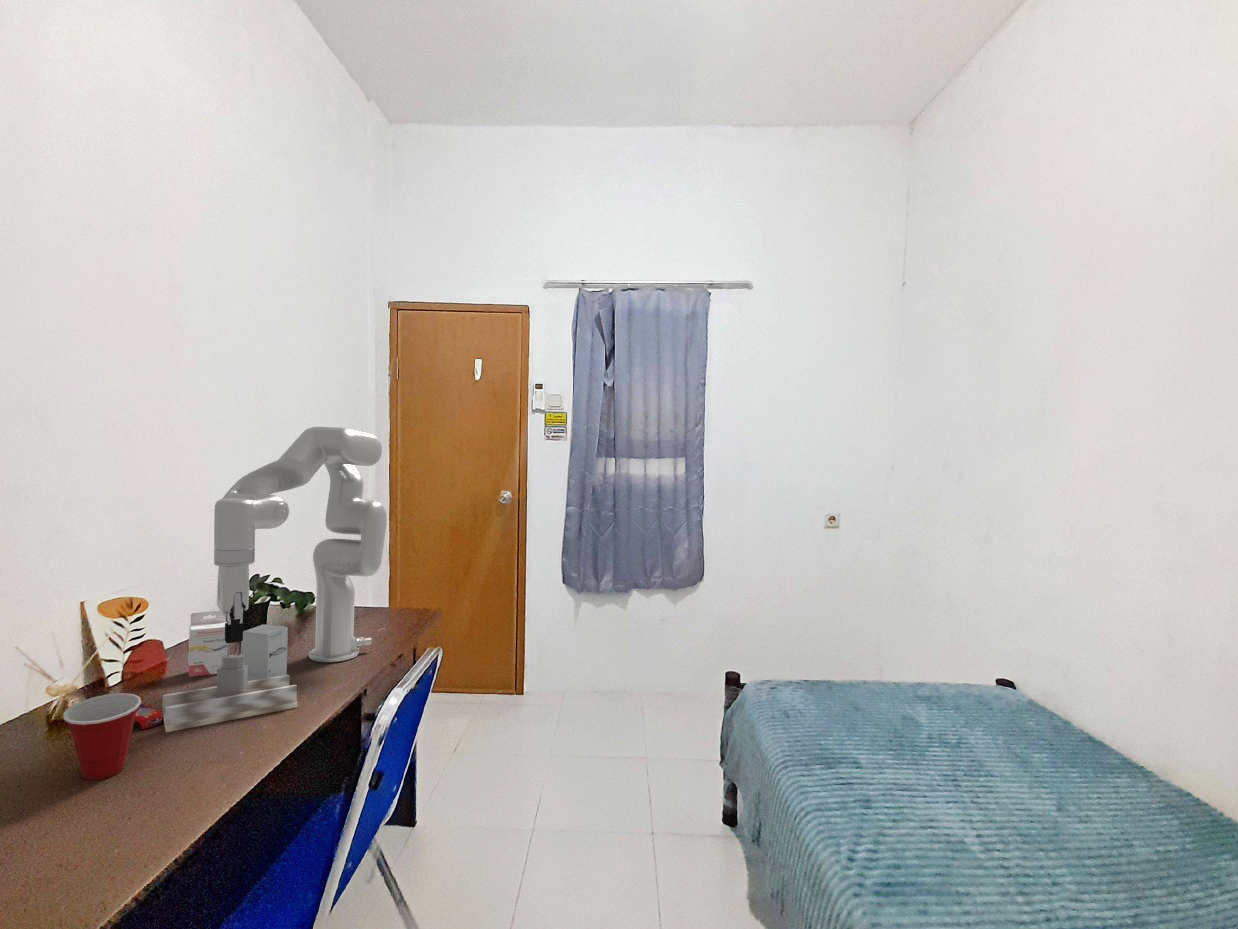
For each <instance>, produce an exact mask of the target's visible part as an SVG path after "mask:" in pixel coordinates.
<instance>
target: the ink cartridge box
mask: <svg viewBox="0 0 1238 929" xmlns="http://www.w3.org/2000/svg"><path fill="white" fill-rule="evenodd" d="M208 616H215V617H210V618H204V617H208ZM225 623H226V613H225V614H223V613H222V612H221V611H220V610H210V611H209V610H208V611H201V612H199V611H198V612H191V614H190V625H189V632H188V634H189V635H188V638H189V639H188V660H187V661H188V664H187V665H188V666H187V667H188V668H187V671H188V678H191V677H193V678H194V677H200V676H201V677H202V676H210V675H217V669H218V668H219V667H221V666H222V656H225V655H228V645H229V646H230V645H231V643H226V642H225Z"/></svg>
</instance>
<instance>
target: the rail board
mask: <svg viewBox="0 0 1238 929" xmlns="http://www.w3.org/2000/svg"><path fill="white" fill-rule="evenodd" d="M297 695H298V686H297V684H292V685H290V674H286V675H282V676H276V677H270V678H264V679H258V680H251V681H248V683H247V693H244V694H238V695H232V696H226V697H221V698H217V685H215V686H208V687H203V688H196V689H191V690H185V691H178V692H172V693H167V694H162V709H161V712H162V714H163V721H162V722H163V725H164V731H165V733H170V732H174V731H180V730H181V731H182V730H187V729H190V728H196V727H197V728H198V727H201V726H207V725H211V724H217V723H222V722H228V721H233V720H238V719H243V718H247V717H253V716H258V715H259V716H260V715H263V714H268V713H275V712H281V711H286V710H290V709H291V710H292V709H295V708H298V696H297Z"/></svg>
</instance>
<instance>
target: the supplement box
mask: <svg viewBox="0 0 1238 929" xmlns="http://www.w3.org/2000/svg"><path fill="white" fill-rule="evenodd" d="M288 629H289V627H288V626H282V625H272V624H271V625H270V624H261V625H260V624H259V625H258V626H255V627H252V628H249V629H247V630H243V641H241V642H240V646H241V647H240V655H243V656H244V665H248V681H251V680H258V679H264V678H270V677H276V676H282V675H288V674H287V670H288V669H287V665H288V635H289V634H288V632H289V630H288Z"/></svg>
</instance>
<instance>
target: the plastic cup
mask: <svg viewBox="0 0 1238 929" xmlns="http://www.w3.org/2000/svg"><path fill="white" fill-rule="evenodd" d="M141 703H142V699H141V696H139V695H137V694H134V693H127V692H126V693H125V692H120V693H107V694H103V695H99V696H98V695H97V696H93V697H90V698H88V699H83V700H80V701H79V702H77V703H75V704H73V705H71V706H69V707H68V708H67V709H66V710H65V711H64V712H63V713H62V714H63V715H62V716H63V720H64V721H65V722H67V725H68V727H69V728H70V729H69V730H70V732H71V734H72V740H73V744H74V747H75V752H76V753H75V754H76V756H77V761H78V763H79V768H80V775H82V779H84V780H86V781H99V780H104V779H108V778H110V777H114V776H116V775H117V774H119V773H121V772H122V771H123V769H125V768H124V767H125V766H126V765H125V764H126V759H127V756H128V751H129V747H130V743H131V738H132V733H133V730H134V728H133V724H134V720H135V716H136V713H137V709H138V707H139V705H140V704H141Z"/></svg>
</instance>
